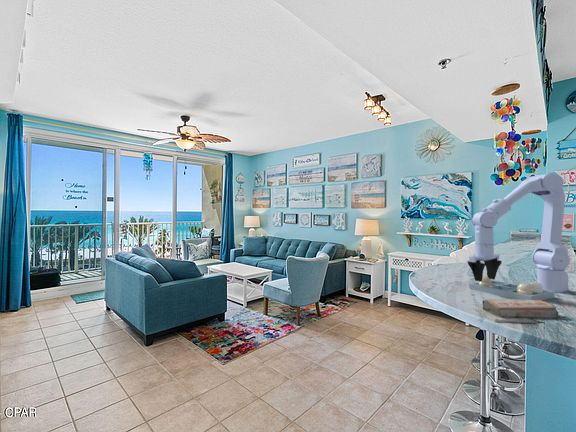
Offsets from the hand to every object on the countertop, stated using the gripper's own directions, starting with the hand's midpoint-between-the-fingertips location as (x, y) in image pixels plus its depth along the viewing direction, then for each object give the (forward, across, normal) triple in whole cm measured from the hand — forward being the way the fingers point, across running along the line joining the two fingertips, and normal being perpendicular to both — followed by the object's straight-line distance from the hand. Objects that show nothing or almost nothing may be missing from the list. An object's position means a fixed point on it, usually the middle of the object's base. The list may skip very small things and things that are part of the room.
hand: (484, 280), depth 106 cm
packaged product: (+5, +18, +20) cm, 28 cm away
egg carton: (+5, -3, +6) cm, 9 cm away
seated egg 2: (+4, -6, +13) cm, 15 cm away
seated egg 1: (+4, 0, +13) cm, 13 cm away
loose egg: (+4, 0, 0) cm, 4 cm away
